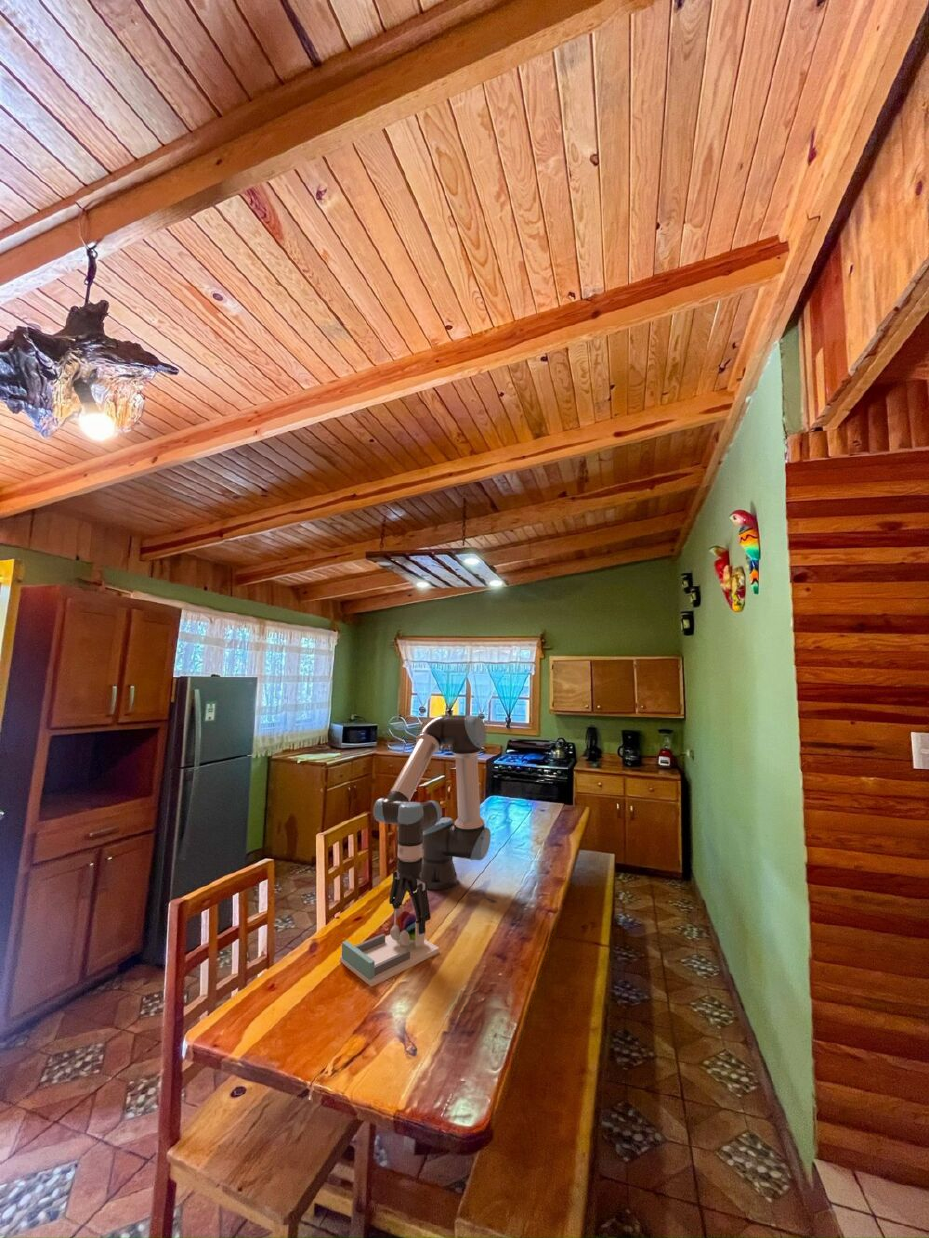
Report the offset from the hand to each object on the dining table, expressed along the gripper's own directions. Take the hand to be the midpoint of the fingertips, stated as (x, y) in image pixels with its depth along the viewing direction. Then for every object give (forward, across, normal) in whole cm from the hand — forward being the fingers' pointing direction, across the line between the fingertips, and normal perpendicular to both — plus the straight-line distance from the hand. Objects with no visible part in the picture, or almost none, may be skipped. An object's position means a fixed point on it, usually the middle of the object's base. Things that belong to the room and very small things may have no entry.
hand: (408, 937), depth 143 cm
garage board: (+3, 0, -6) cm, 7 cm away
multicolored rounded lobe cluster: (+1, 0, 0) cm, 1 cm away
